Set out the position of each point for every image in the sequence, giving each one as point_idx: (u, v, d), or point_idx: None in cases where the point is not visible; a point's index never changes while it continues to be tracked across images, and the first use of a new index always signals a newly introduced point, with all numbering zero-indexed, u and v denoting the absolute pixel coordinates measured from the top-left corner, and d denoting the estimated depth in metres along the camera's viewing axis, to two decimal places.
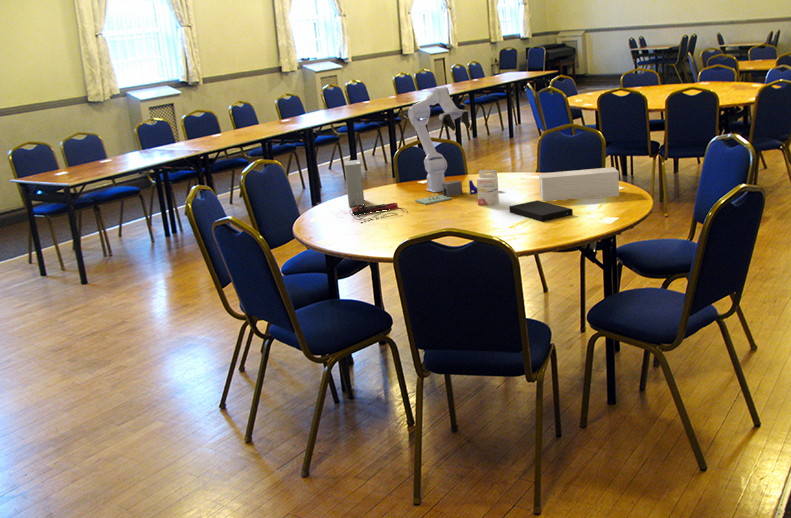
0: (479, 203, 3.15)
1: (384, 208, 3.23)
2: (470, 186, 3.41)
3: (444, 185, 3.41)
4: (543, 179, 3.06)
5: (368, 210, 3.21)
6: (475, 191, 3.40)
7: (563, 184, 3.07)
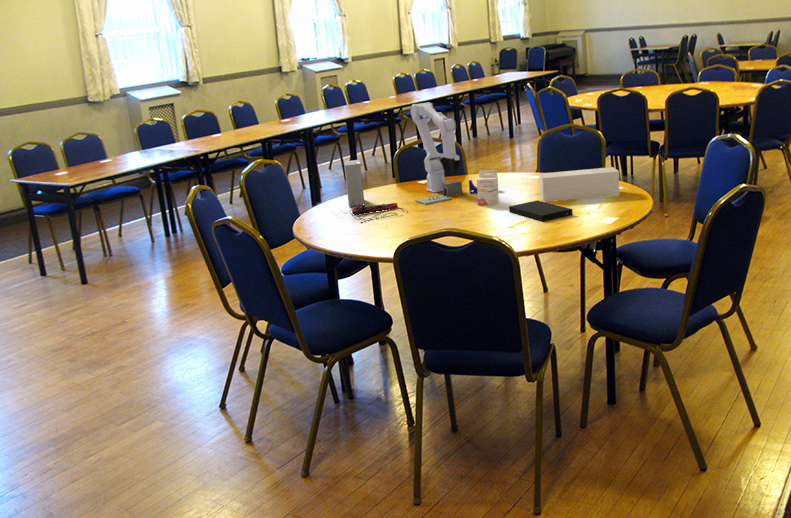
0: (479, 203, 3.15)
1: (384, 208, 3.23)
2: (470, 186, 3.41)
3: (444, 185, 3.41)
4: (544, 179, 3.06)
5: (368, 210, 3.21)
6: (475, 191, 3.40)
7: (564, 184, 3.07)
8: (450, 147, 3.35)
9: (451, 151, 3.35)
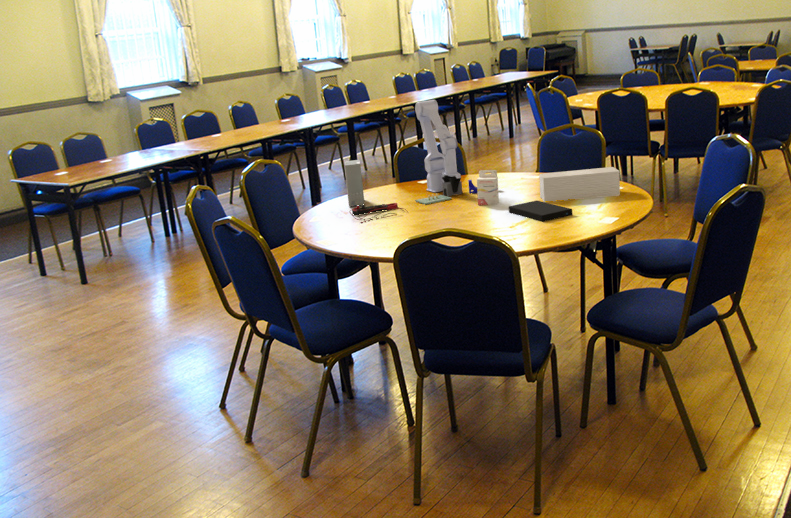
0: (479, 203, 3.15)
1: (384, 208, 3.23)
2: (470, 185, 3.42)
3: (444, 185, 3.41)
4: (544, 179, 3.06)
5: (368, 210, 3.21)
6: (475, 190, 3.41)
7: (564, 184, 3.06)
8: (451, 165, 3.37)
9: (452, 169, 3.38)
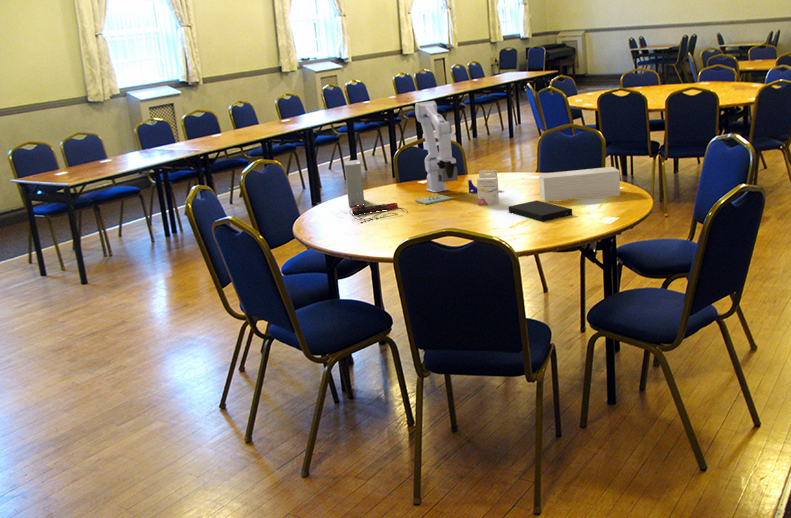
0: (479, 203, 3.15)
1: (384, 208, 3.23)
2: (469, 185, 3.42)
3: (439, 171, 3.37)
4: (545, 179, 3.06)
5: (368, 210, 3.21)
6: (474, 190, 3.41)
7: (565, 184, 3.06)
8: (446, 150, 3.33)
9: (447, 154, 3.34)
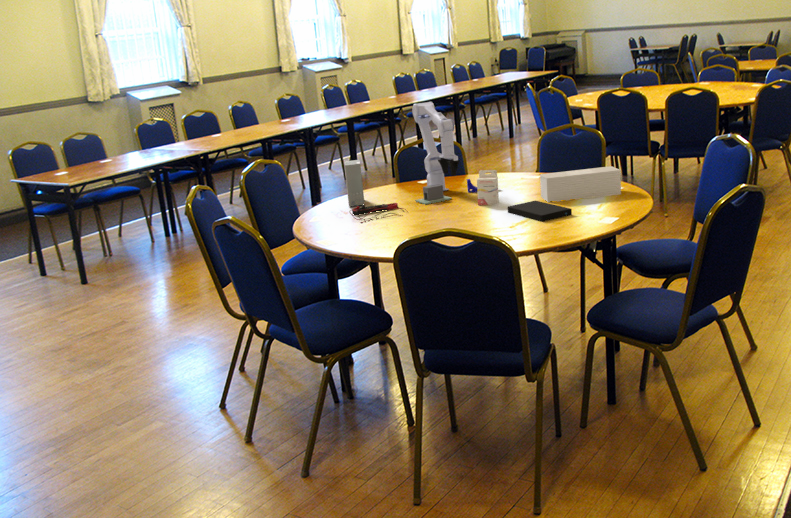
0: (479, 203, 3.15)
1: (384, 208, 3.23)
2: (468, 185, 3.44)
3: (425, 189, 3.32)
4: (548, 179, 3.05)
5: (368, 210, 3.21)
6: (473, 190, 3.43)
7: (567, 184, 3.06)
8: (449, 147, 3.34)
9: (450, 152, 3.34)
